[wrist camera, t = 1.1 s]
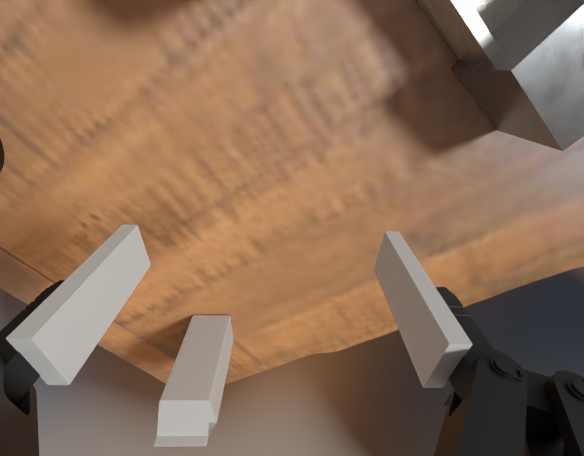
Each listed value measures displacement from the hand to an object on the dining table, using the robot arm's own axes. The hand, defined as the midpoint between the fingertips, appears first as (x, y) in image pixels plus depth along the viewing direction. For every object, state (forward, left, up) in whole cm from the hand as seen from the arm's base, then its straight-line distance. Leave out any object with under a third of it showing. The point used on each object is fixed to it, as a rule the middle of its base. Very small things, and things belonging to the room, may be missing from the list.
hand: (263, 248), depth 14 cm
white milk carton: (+12, -36, -22) cm, 44 cm away
